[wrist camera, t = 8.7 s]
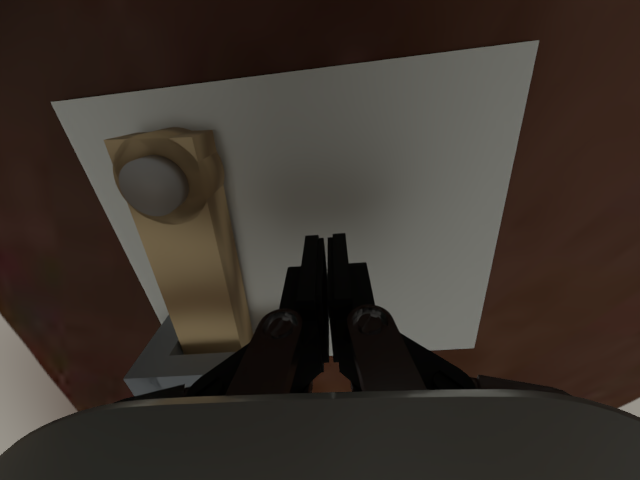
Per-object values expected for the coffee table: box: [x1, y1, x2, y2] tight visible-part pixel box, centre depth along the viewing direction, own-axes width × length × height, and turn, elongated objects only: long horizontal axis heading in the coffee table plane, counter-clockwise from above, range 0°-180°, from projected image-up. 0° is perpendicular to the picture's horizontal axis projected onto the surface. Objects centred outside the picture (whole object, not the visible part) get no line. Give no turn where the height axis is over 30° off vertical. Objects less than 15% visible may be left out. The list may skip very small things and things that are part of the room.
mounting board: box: [51, 40, 539, 396], centre depth 16 cm, size 20×24×6 cm
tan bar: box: [104, 127, 253, 355], centre depth 17 cm, size 17×4×4 cm, turn 2°
